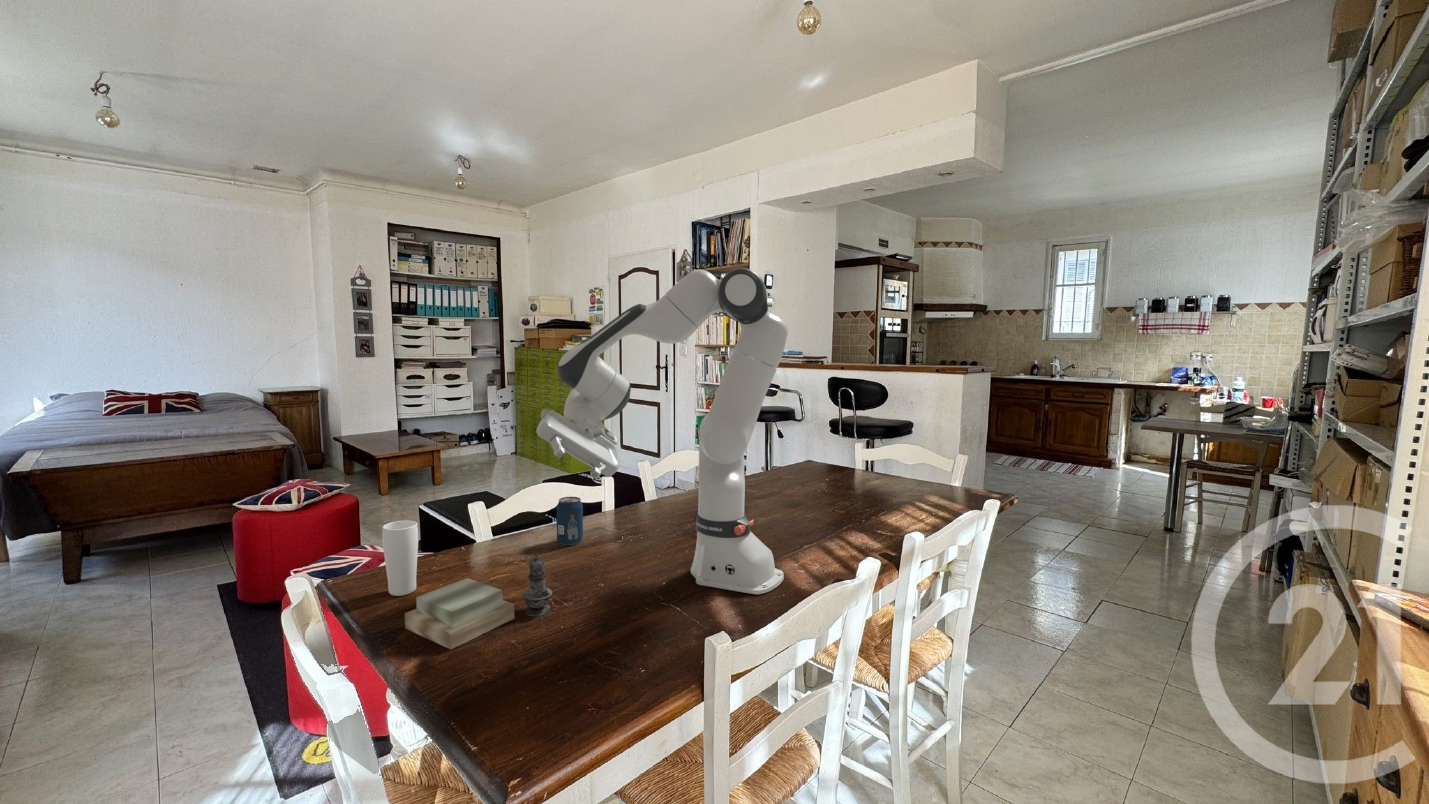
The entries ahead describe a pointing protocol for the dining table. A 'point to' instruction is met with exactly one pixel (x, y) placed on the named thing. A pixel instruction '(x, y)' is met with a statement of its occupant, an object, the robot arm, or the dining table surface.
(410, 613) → the brick tower base
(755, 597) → the dining table surface
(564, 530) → the soda can
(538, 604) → the dark grey ornamental finial
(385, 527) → the drinking glass
